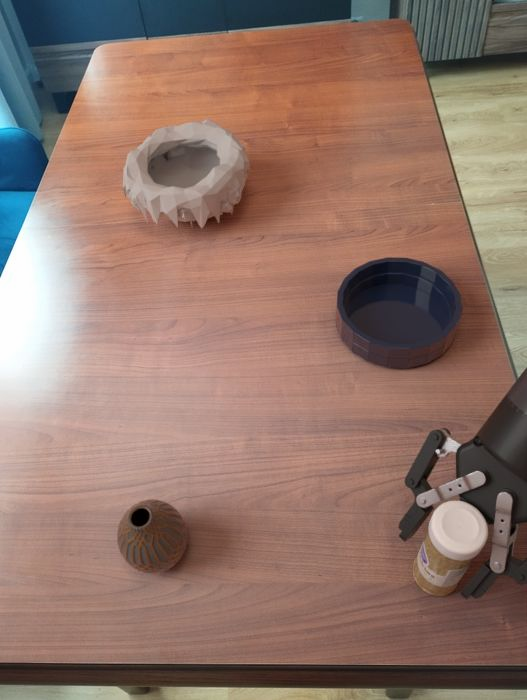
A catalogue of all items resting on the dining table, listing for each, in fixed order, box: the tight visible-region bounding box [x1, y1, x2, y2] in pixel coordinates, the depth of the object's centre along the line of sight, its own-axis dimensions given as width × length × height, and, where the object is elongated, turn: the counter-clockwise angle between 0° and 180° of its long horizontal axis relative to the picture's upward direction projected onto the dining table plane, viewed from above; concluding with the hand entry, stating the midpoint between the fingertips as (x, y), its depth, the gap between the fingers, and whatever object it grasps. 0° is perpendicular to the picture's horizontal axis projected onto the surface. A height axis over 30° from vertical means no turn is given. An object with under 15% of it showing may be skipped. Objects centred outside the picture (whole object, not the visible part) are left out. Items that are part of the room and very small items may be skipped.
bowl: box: [122, 118, 251, 229], centre depth 93 cm, size 21×20×10 cm
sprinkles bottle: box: [412, 500, 489, 597], centre depth 53 cm, size 5×5×13 cm
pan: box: [335, 256, 463, 369], centre depth 76 cm, size 16×16×4 cm
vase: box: [116, 498, 189, 574], centre depth 59 cm, size 7×7×9 cm
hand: (434, 564), depth 52 cm, fingers open, 6 cm apart
